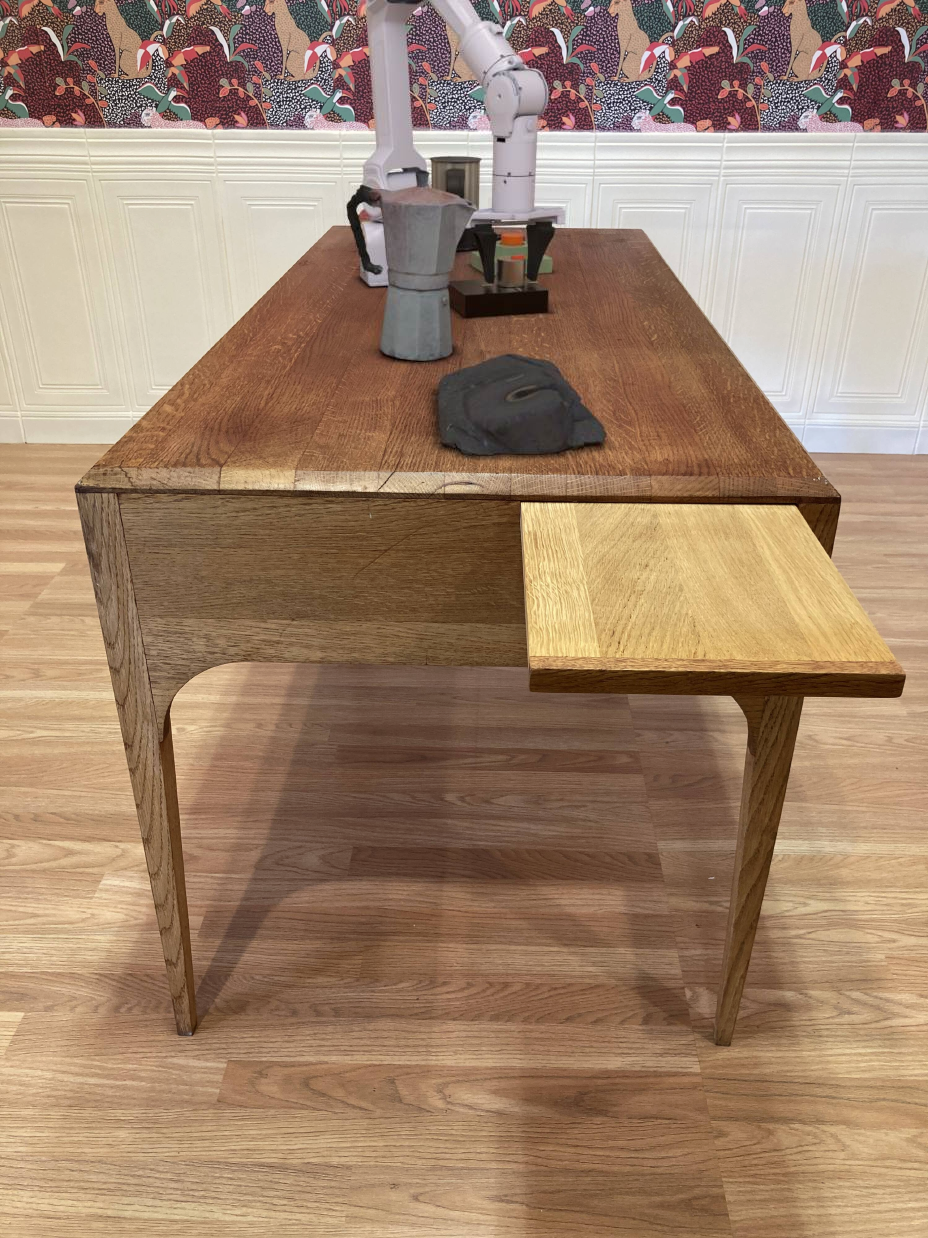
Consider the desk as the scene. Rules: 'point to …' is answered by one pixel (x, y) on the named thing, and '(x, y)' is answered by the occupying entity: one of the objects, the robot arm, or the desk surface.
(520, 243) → the button
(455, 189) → the milk frother
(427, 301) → the moka pot
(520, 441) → the slotted grey rock
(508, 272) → the temp dial
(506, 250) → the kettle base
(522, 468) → the desk surface
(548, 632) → the desk surface
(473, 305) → the panel
